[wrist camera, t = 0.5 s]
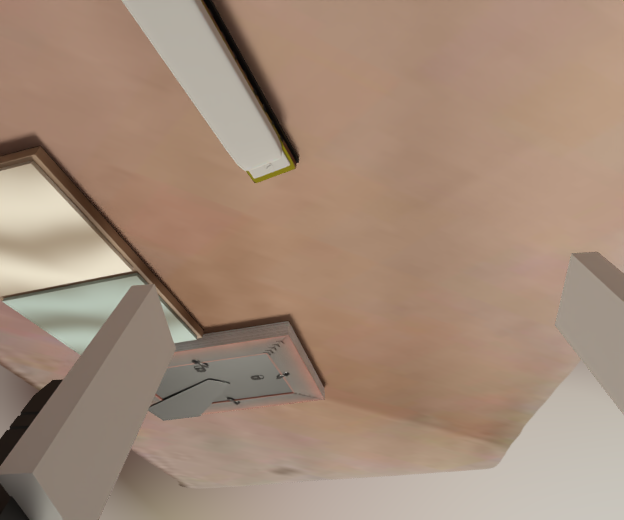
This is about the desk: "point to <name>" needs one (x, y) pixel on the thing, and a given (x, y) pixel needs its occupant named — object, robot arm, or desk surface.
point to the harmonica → (217, 82)
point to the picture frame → (236, 373)
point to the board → (67, 256)
